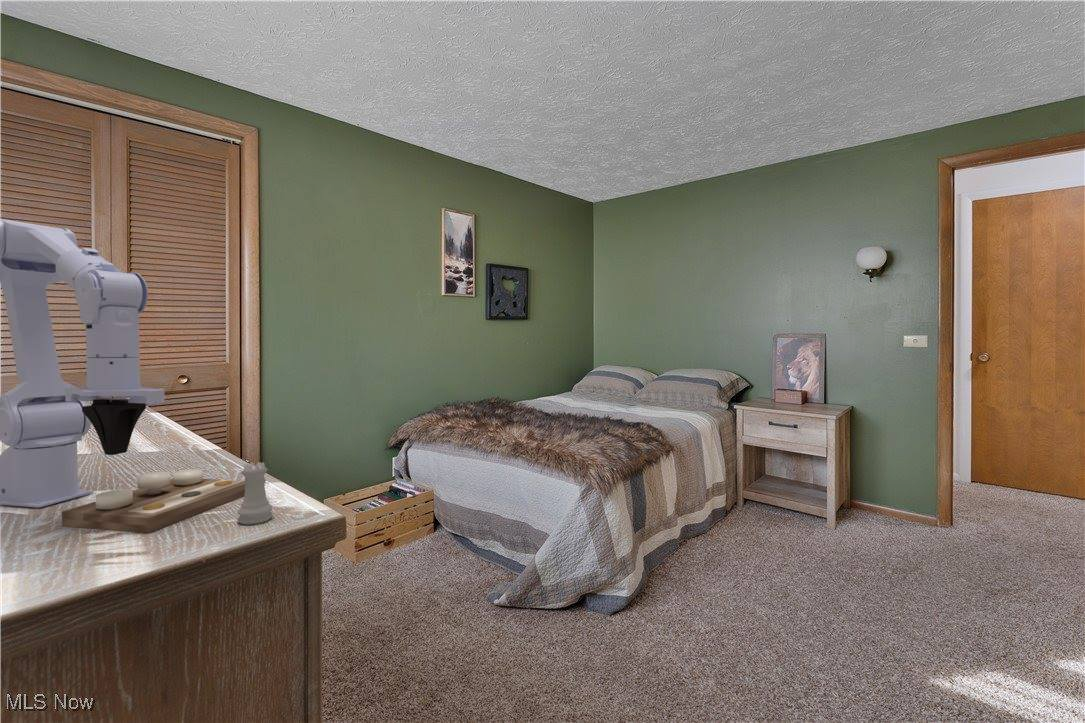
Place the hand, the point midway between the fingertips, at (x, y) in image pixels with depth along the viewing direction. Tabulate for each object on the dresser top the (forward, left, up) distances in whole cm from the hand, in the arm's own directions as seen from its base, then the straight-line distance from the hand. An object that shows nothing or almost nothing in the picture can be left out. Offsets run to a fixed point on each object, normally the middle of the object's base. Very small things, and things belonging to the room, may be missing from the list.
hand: (116, 453), depth 71 cm
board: (+2, +5, -9) cm, 11 cm away
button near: (0, -1, -8) cm, 9 cm away
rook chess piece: (+19, +3, -10) cm, 22 cm away
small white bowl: (0, +11, -8) cm, 14 cm away
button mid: (0, +5, -7) cm, 9 cm away
